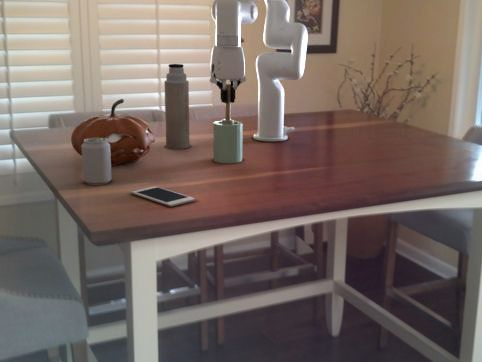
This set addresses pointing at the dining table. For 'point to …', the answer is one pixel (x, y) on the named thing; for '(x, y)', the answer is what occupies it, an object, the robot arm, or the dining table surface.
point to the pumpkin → (116, 135)
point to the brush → (228, 108)
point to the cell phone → (163, 196)
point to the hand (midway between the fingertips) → (227, 101)
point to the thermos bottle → (177, 108)
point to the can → (96, 161)
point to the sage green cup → (227, 142)
